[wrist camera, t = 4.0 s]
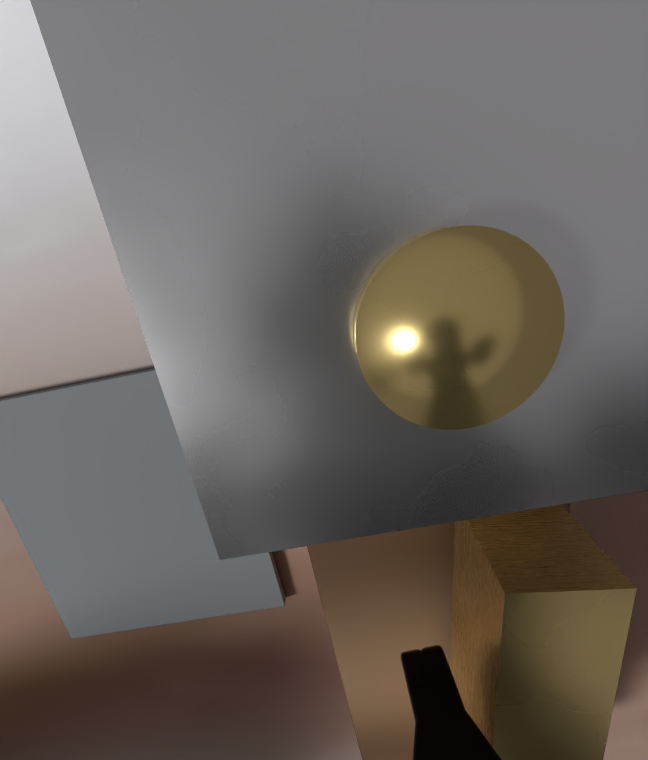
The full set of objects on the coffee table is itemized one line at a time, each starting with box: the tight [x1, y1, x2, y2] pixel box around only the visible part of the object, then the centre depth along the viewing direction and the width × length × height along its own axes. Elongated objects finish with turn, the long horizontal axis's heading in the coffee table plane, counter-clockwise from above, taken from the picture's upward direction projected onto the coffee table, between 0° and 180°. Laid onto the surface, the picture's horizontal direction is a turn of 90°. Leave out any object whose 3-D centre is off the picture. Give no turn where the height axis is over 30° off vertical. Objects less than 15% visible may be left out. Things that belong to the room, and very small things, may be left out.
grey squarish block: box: [30, 0, 648, 560], centre depth 5 cm, size 7×6×4 cm
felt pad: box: [0, 368, 286, 639], centre depth 12 cm, size 8×7×1 cm
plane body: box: [307, 503, 570, 760], centre depth 10 cm, size 21×6×3 cm, turn 12°
